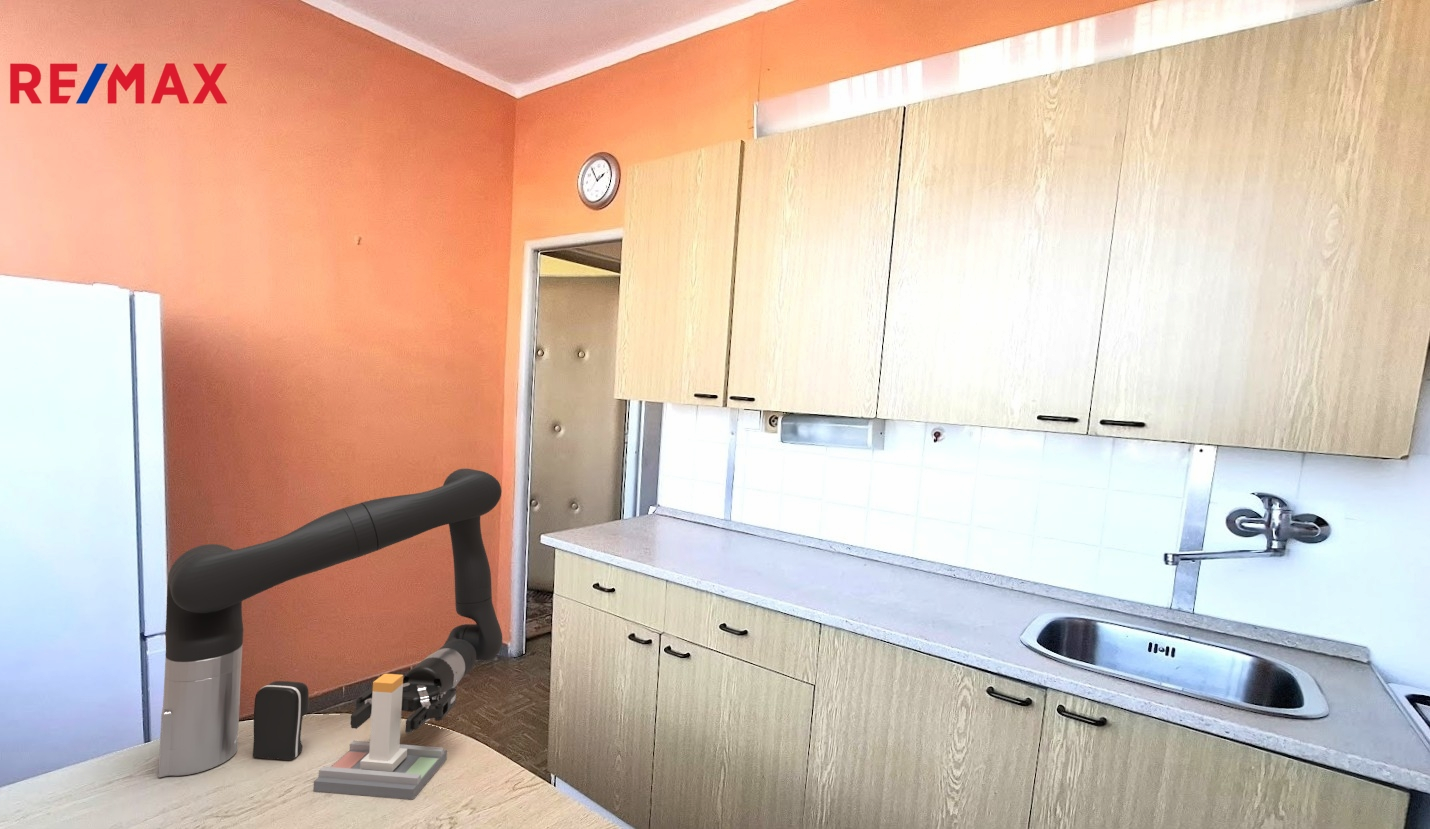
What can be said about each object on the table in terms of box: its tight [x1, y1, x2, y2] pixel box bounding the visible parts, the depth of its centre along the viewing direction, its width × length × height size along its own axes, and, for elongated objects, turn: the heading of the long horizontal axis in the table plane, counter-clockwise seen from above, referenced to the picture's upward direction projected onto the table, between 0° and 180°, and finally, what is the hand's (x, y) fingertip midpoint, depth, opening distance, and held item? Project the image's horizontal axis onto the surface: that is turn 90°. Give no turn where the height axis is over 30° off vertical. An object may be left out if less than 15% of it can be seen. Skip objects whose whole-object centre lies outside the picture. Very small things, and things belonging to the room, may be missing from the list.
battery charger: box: [252, 680, 310, 761], centre depth 96 cm, size 7×4×11 cm, turn 89°
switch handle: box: [360, 673, 407, 772], centre depth 92 cm, size 5×4×13 cm
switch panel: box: [312, 740, 448, 800], centre depth 92 cm, size 15×10×2 cm, turn 88°
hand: (380, 724), depth 91 cm, fingers open, 8 cm apart
